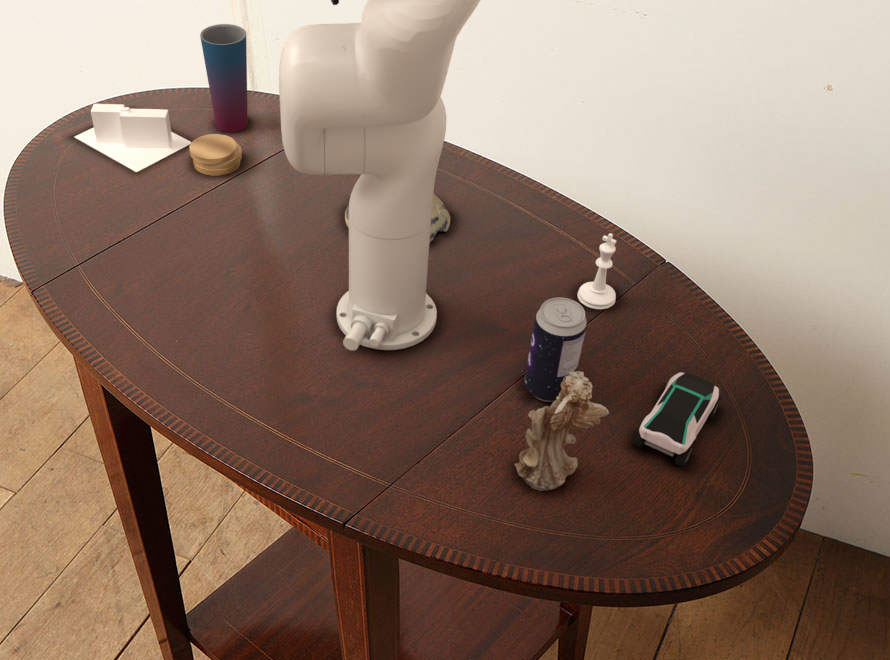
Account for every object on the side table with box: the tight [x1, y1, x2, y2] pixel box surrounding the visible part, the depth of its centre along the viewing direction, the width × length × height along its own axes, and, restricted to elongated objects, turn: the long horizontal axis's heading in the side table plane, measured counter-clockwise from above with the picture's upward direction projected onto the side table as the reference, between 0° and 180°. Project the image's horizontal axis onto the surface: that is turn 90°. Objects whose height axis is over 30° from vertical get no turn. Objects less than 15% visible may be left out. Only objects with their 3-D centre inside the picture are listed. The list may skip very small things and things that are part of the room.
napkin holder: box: [74, 103, 192, 173], centre depth 151 cm, size 15×11×6 cm
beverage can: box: [523, 296, 588, 403], centre depth 112 cm, size 6×6×12 cm
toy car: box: [633, 372, 722, 467], centre depth 110 cm, size 6×12×5 cm, turn 147°
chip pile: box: [188, 133, 243, 177], centre depth 148 cm, size 8×8×3 cm
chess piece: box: [577, 232, 617, 310], centre depth 125 cm, size 5×5×10 cm
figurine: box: [513, 370, 610, 492], centre depth 101 cm, size 7×6×15 cm
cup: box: [199, 23, 249, 134], centre depth 152 cm, size 7×7×15 cm
